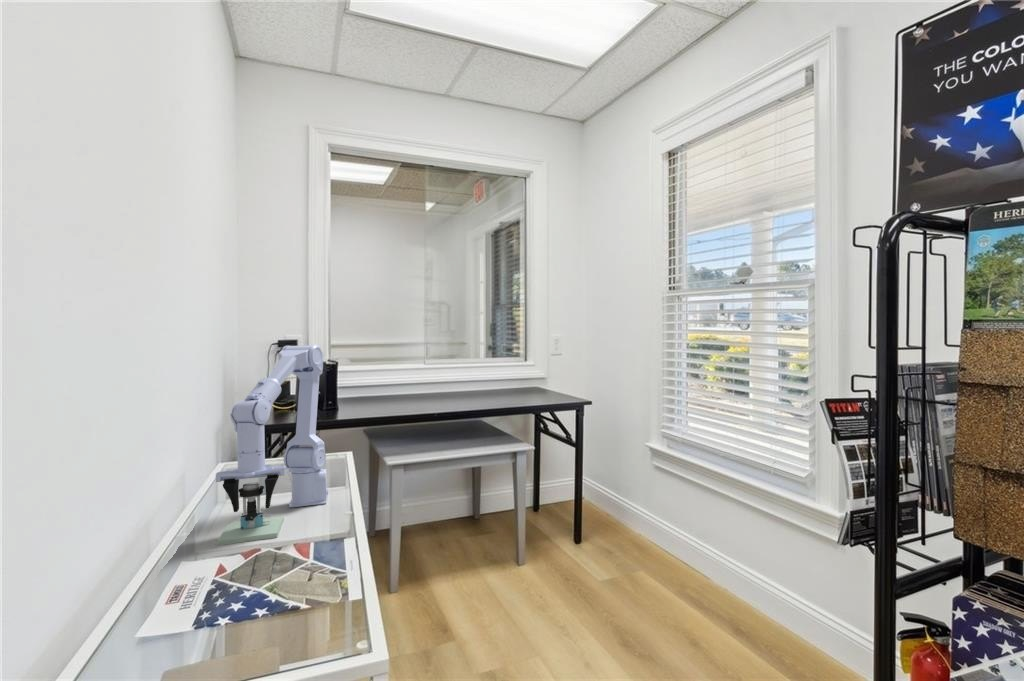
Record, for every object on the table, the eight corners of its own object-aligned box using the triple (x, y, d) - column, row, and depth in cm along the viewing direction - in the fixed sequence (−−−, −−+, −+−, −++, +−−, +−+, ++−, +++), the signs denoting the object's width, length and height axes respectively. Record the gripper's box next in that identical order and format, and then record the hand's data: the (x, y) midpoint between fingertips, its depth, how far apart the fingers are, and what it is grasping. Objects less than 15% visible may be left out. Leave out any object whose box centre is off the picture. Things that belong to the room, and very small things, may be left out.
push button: (270, 520, 121) (269, 479, 121) (271, 526, 116) (270, 483, 116) (239, 525, 117) (238, 483, 118) (238, 532, 113) (238, 487, 113)
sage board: (283, 520, 123) (283, 516, 123) (277, 537, 112) (277, 532, 112) (229, 527, 120) (229, 522, 120) (217, 545, 108) (217, 540, 108)
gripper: (211, 457, 110) (212, 518, 110) (282, 451, 115) (283, 510, 114) (219, 451, 117) (220, 508, 116) (286, 446, 121) (287, 501, 121)
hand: (252, 508), depth 116 cm, fingers open, 6 cm apart
